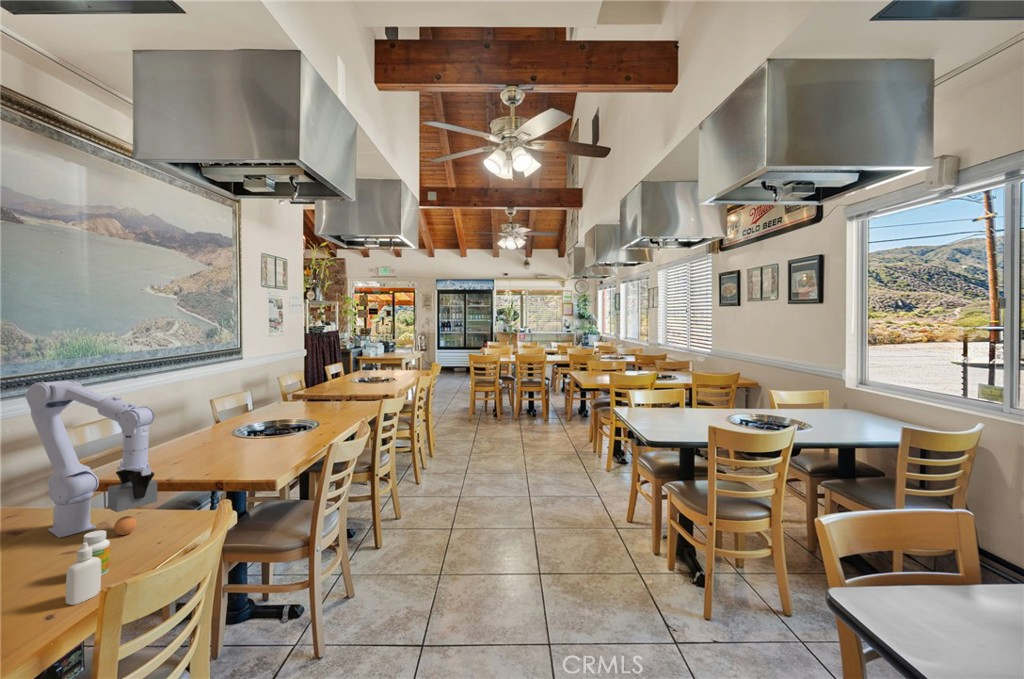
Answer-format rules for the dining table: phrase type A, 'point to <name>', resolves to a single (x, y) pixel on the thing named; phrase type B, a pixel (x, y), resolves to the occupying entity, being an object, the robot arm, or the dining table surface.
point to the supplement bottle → (99, 548)
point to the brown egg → (125, 525)
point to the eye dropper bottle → (83, 577)
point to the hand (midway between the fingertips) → (134, 495)
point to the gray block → (129, 496)
